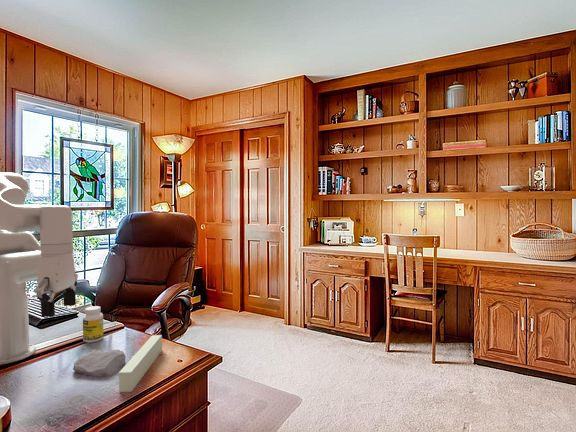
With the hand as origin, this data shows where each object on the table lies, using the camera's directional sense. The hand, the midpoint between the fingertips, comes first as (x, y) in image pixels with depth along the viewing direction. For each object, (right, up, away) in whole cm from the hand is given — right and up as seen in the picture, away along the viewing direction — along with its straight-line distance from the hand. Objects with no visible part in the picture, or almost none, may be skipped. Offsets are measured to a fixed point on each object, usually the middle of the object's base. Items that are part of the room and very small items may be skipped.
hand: (59, 310), depth 97 cm
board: (+23, -17, +2) cm, 29 cm away
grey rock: (+10, -18, +2) cm, 20 cm away
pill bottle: (-3, -16, +23) cm, 28 cm away
